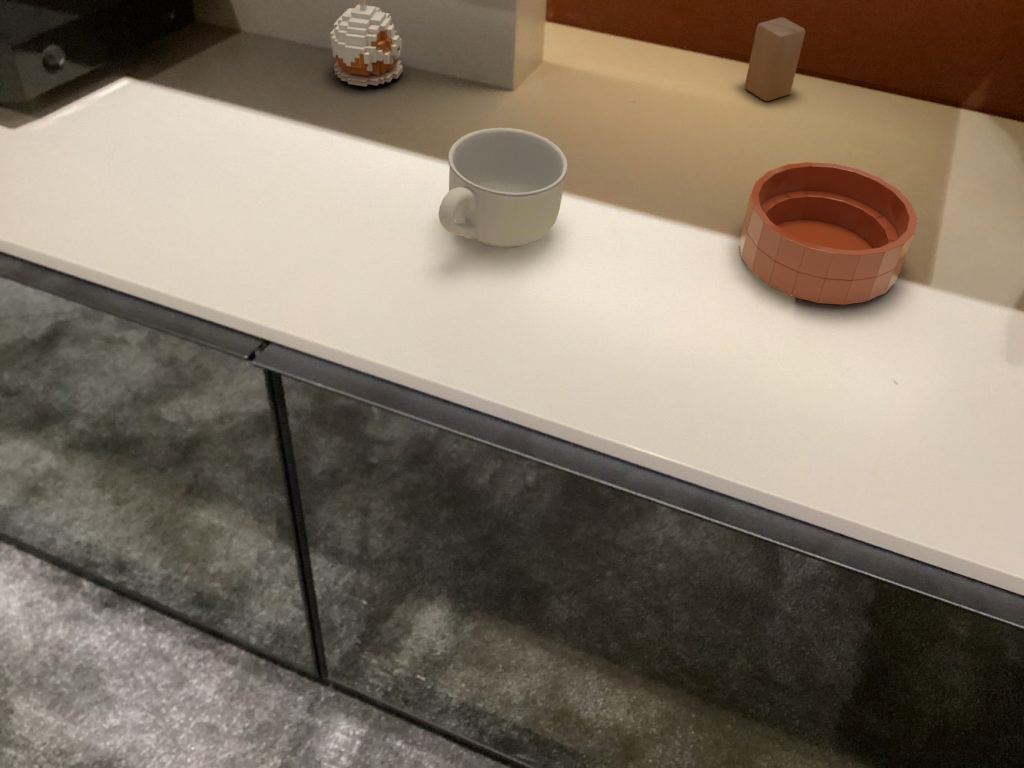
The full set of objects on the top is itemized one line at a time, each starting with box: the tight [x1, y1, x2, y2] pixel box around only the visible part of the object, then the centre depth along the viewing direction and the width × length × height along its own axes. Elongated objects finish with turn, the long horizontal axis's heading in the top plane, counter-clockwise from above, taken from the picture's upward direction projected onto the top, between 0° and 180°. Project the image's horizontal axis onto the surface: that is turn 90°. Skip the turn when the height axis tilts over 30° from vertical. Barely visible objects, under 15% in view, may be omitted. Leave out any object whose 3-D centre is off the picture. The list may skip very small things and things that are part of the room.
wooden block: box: [744, 16, 806, 102], centre depth 110 cm, size 4×4×8 cm
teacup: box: [438, 127, 569, 249], centre depth 89 cm, size 14×11×8 cm
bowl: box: [739, 161, 918, 306], centre depth 88 cm, size 14×14×6 cm
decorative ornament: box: [329, 0, 404, 87], centre depth 108 cm, size 8×8×15 cm
